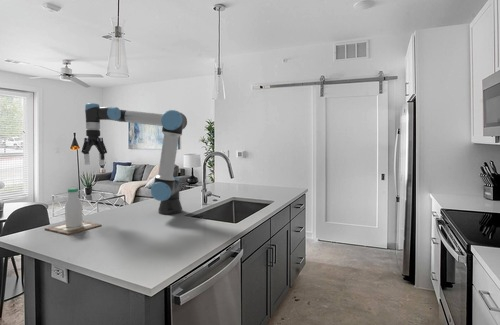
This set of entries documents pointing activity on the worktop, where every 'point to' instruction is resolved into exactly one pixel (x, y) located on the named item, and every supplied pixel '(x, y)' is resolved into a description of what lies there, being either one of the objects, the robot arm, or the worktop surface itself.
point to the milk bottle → (73, 209)
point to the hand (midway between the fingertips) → (94, 165)
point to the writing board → (69, 231)
